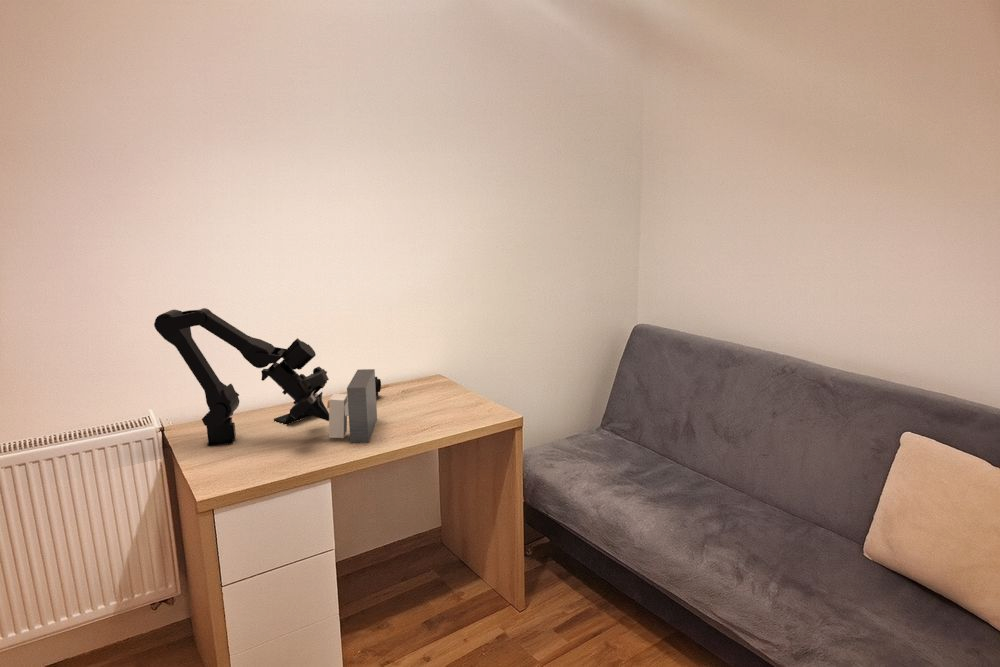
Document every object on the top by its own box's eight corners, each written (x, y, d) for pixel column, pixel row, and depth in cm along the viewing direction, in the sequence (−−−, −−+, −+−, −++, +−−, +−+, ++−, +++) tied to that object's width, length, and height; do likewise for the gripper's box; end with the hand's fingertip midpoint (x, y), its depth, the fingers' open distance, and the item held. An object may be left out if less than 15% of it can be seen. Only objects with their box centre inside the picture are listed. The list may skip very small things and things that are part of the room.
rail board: (346, 443, 178) (343, 388, 175) (357, 420, 196) (354, 369, 192) (368, 442, 179) (365, 387, 175) (377, 420, 196) (374, 369, 193)
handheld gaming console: (296, 405, 205) (307, 385, 200) (312, 420, 204) (324, 400, 199) (270, 422, 196) (280, 401, 190) (287, 438, 195) (298, 417, 189)
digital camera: (374, 406, 209) (373, 385, 207) (357, 406, 209) (356, 385, 207) (381, 396, 219) (380, 376, 217) (365, 396, 219) (364, 376, 218)
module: (326, 437, 179) (326, 399, 177) (329, 430, 184) (330, 393, 182) (343, 438, 180) (344, 400, 177) (346, 431, 185) (347, 394, 182)
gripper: (301, 370, 168) (344, 412, 171) (317, 352, 186) (356, 390, 189) (271, 398, 169) (314, 439, 172) (290, 377, 187) (329, 415, 190)
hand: (330, 419), depth 181 cm, fingers closed, pressing on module
